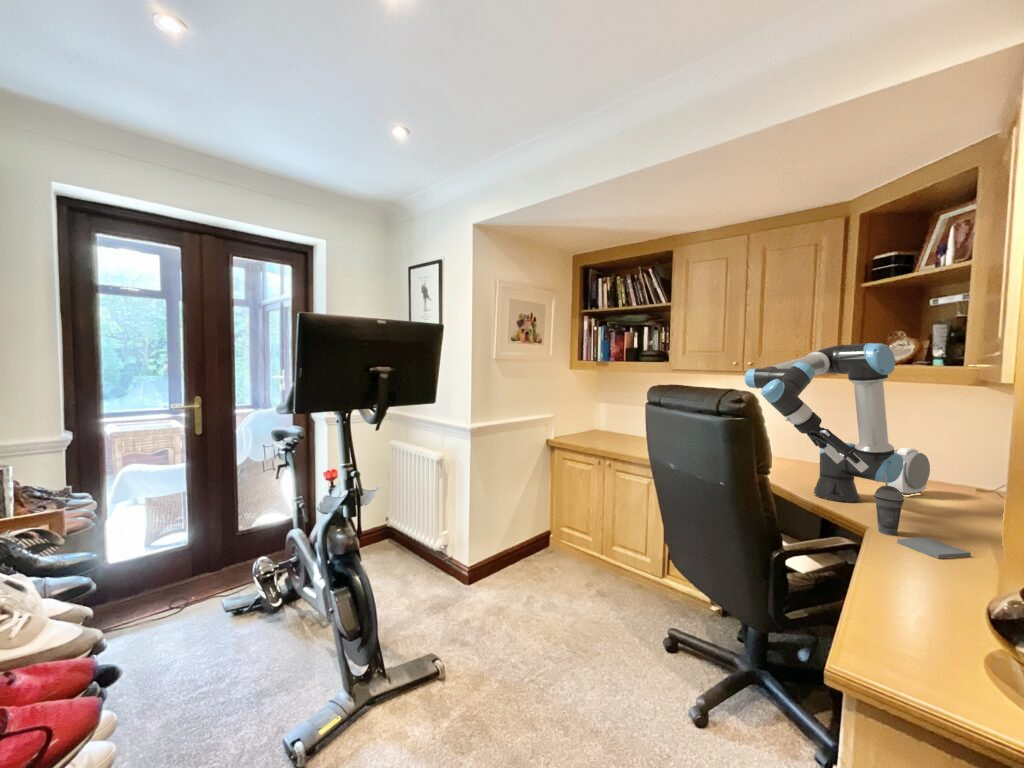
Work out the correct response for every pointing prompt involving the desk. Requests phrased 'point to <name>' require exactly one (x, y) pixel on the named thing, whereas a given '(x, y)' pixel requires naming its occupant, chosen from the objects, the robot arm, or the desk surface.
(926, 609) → the desk surface
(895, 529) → the beverage cup
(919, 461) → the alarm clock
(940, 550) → the charcoal rubber mat
